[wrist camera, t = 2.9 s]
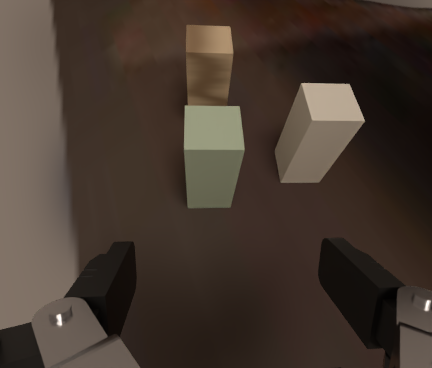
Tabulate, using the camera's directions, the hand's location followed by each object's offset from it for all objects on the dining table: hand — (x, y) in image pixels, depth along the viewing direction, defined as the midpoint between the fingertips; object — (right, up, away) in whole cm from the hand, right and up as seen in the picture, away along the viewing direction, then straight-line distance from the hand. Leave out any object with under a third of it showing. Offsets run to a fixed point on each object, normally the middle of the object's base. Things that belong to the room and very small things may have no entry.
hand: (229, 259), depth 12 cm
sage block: (-1, +3, +19) cm, 19 cm away
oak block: (-2, +13, +24) cm, 27 cm away
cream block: (+9, +5, +21) cm, 23 cm away
